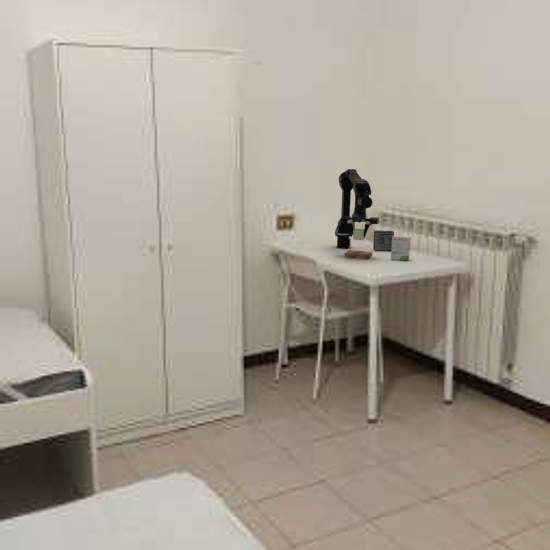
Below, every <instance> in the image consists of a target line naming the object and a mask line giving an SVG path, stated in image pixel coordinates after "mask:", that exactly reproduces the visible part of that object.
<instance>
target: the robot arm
mask: <svg viewBox="0 0 550 550" xmlns="http://www.w3.org/2000/svg"><path fill="white" fill-rule="evenodd" d="M338 185H339V187H340V189H341V192H342V193H341V208H340V209H341V211H340V212H341V213H340V218H339V220H338V221H337V225H336V228H335V230H334V236H336V238H337V241H336V246H335V248H336V247H339V248H338V249H349V248H351V245H352V244H351V240H352V239H351V238H353V230H354V229H356V223H362V222H363V223H364V229H365V230H364V237H365V238H366V235H367V234H368V230H369V229H370V226H372V225H378V224H379V223H380V218H379V217H376V216H371V217H369V218H367V209H369V208H371V207H372V206H373V199H372V198H371V197H370V196H371V195H372V192H373V191H372V188H371V185H370V183H369V181H368V180H366V179H364V178H362V177H361V175H359V173H358V172H357V169H355V168H348V169H346V170H345V171H344V172H341V173H340V174H339V176H338ZM352 191H353V193H354V209H353V213H352V214H351V196H352V193H351V192H352ZM348 247H349V248H348Z"/></svg>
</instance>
